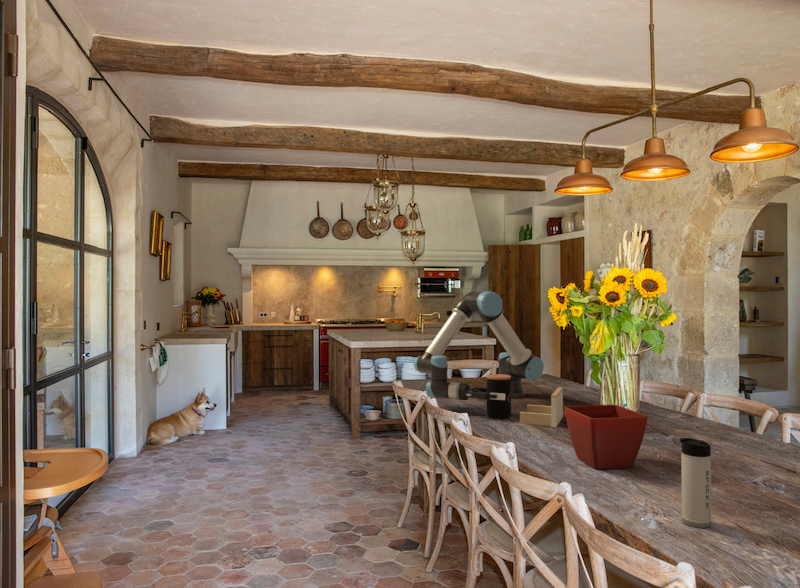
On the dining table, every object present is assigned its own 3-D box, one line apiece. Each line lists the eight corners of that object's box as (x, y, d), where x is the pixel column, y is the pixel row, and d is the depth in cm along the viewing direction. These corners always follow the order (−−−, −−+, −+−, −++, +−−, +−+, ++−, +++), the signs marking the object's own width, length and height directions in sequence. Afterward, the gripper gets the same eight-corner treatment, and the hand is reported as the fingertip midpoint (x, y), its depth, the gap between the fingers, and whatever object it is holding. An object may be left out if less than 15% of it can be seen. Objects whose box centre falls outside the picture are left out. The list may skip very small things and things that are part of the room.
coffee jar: (513, 419, 242) (513, 377, 242) (488, 419, 243) (488, 377, 242) (508, 413, 253) (508, 374, 253) (485, 414, 253) (484, 374, 253)
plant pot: (615, 452, 192) (615, 403, 192) (649, 470, 174) (649, 415, 173) (563, 456, 189) (563, 406, 189) (592, 474, 170) (591, 418, 170)
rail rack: (528, 413, 253) (528, 385, 252) (562, 416, 247) (562, 387, 246) (519, 423, 234) (519, 393, 234) (556, 427, 228) (556, 395, 228)
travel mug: (678, 516, 138) (677, 435, 138) (707, 519, 137) (707, 437, 136) (682, 526, 133) (682, 442, 132) (714, 529, 131) (713, 444, 130)
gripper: (467, 395, 265) (513, 398, 257) (451, 404, 244) (501, 408, 235) (466, 379, 265) (513, 381, 257) (451, 387, 244) (501, 390, 235)
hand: (508, 394), depth 246 cm, fingers closed on coffee jar, 11 cm apart
